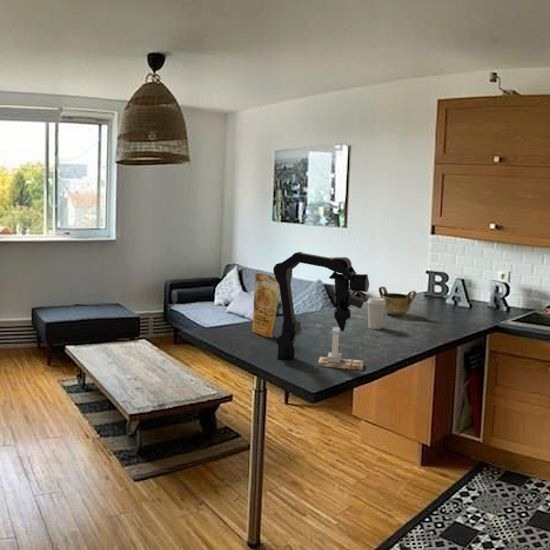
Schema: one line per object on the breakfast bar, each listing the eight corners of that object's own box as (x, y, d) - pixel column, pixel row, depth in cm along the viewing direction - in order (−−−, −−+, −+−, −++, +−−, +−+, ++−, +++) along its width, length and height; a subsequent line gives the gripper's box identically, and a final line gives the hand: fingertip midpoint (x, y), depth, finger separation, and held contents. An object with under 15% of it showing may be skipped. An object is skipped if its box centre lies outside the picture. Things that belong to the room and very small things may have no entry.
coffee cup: (383, 326, 317) (385, 297, 315) (384, 330, 307) (387, 301, 305) (364, 324, 318) (366, 296, 315) (365, 329, 308) (367, 299, 306)
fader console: (317, 365, 242) (318, 362, 242) (320, 360, 251) (320, 356, 250) (362, 370, 240) (362, 366, 239) (363, 364, 248) (363, 360, 247)
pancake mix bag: (258, 328, 299) (260, 272, 295) (281, 337, 284) (284, 278, 280) (246, 330, 295) (249, 272, 291) (269, 339, 280) (272, 278, 276)
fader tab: (327, 361, 242) (329, 330, 240) (328, 356, 249) (330, 326, 247) (339, 362, 241) (341, 331, 240) (341, 358, 248) (343, 327, 246)
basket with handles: (419, 315, 347) (422, 289, 344) (406, 320, 333) (408, 293, 331) (384, 309, 360) (386, 284, 358) (370, 313, 347) (372, 287, 345)
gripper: (363, 297, 230) (363, 335, 234) (361, 281, 247) (361, 317, 252) (334, 297, 231) (334, 335, 236) (334, 281, 248) (334, 317, 253)
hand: (342, 326), depth 244 cm, fingers open, 9 cm apart
